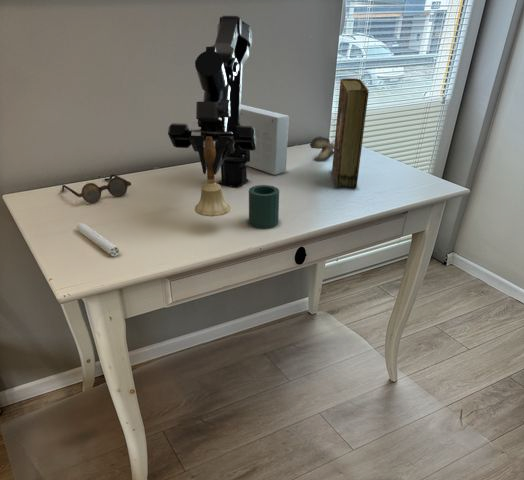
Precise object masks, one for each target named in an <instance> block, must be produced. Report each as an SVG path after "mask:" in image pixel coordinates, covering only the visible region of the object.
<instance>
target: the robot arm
mask: <svg viewBox="0 0 524 480" xmlns="http://www.w3.org/2000/svg"><path fill="white" fill-rule="evenodd" d="M216 30H217V33H216V38H215V41H214V44H212V45H210V46H206V47H205V51H203V52H201V53H200V54H199V55H198V56H197V57H196V59H195V61H194V67H195V70H196V74H197V78H198V80H199V84H200V88H201V90H202V91H203V98H202V99H203V100H202V101H196V103H195V104H196V107H195V108H196V110H195V119H196V120H197V126H198V128H191V129H190V127H189V125H188V123H179V122H172V123H170V125H169V126H168V128H167V129H168V130H167V135H168V137H169V139H170V142H171V143H172V146H173V147H174V148H177V149H179V148H180V149H188V148H190V147H192V150H193V152H197V153H198V156H199V161H200V165H201V170H202V173H203V175H207V165H206V162H205V158H204V145H205V141H206V137H207V136H211V137H212V139H213V142H214V145H215V149H216V157H215V163H214V176H216V175H217V174H218V173H219V171H220V176H221V177H220V179H219V180H218V182H217V184H219V185H223V186H228V187H233V188H239V187H241V186H242V185H244V184H246V183H248V182H249V179H248V177H247V174H248V172H247V169H248V168H247V166H246V165H245V163H247V162H250V151H253V150H255V149H256V135H255V129H254V128H253V126H240V116H241V105H242V92H243V91H242V90H243V89H242V88H243V66H244V65H245V63H246V62H247V60H248V59H249V58H250V48H252V46H253V33H252V28H251V25H249V24H248V23H246V22H245V21H243V19H242V17H241V16H239V15H222V16H219V23H218V24H217V29H216ZM243 155H244V156H243Z"/></svg>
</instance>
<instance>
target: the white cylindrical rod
mask: <svg viewBox="0 0 524 480" xmlns="http://www.w3.org/2000/svg"><path fill="white" fill-rule="evenodd" d="M76 228H77V231H78V232H79V233H81V234H82V235H83V236H85V237H86V238H87V239H89V240H90V241H91V242H93V243H94V244H95V245H97V246H98V247H99V248H101V249H102V250H104V251H105V252H107V254H109V255H110V256H112V257H117V256H118V255H119V253H120V249H119V248H118V246H116V245H114V243H112V242H110V240H107V239H106V238H105V237H104V236H102V235H100V234H99V233H98V232H97V231H95V230H94V229H92V228H91V227H90V226H88V225H87V224H85V223H84V222H79V223H77V224H76Z"/></svg>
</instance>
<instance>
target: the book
mask: <svg viewBox="0 0 524 480" xmlns="http://www.w3.org/2000/svg"><path fill="white" fill-rule="evenodd" d="M369 91H370V89H369V88H368V87H367V86H366V85H365V83H364V82H363V81H362V79H360V78H341V79H340V82H339V93H338V103H337V112H336V113H337V115H336V125H335V134H334V140H335V144H334V149H333V151H334V154H333V156H332V166H331V173H332V176H333V181H334V184H335V187H336V188H337V189H339V188H353V189H357V187H358V179H359V172H360V164H361V155H362V148H363V142H364V141H363V140H364V139H363V138H364V132H365V125H366V117H367V108H368V102H369V101H368V100H369V93H370V92H369Z"/></svg>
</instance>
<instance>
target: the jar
mask: <svg viewBox="0 0 524 480" xmlns="http://www.w3.org/2000/svg"><path fill="white" fill-rule="evenodd" d="M279 209H280V189H279V188H278V187H276V186H274V185H269V184H260V185H253V186H252V187H250V188H249V189H248V224H249V225H250V226H251V227H253V228H256V229H259V230H260V229H261V230H268V229H272V228H275V227H277V226H278V225H279V214H280V213H279V212H280V211H279Z"/></svg>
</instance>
